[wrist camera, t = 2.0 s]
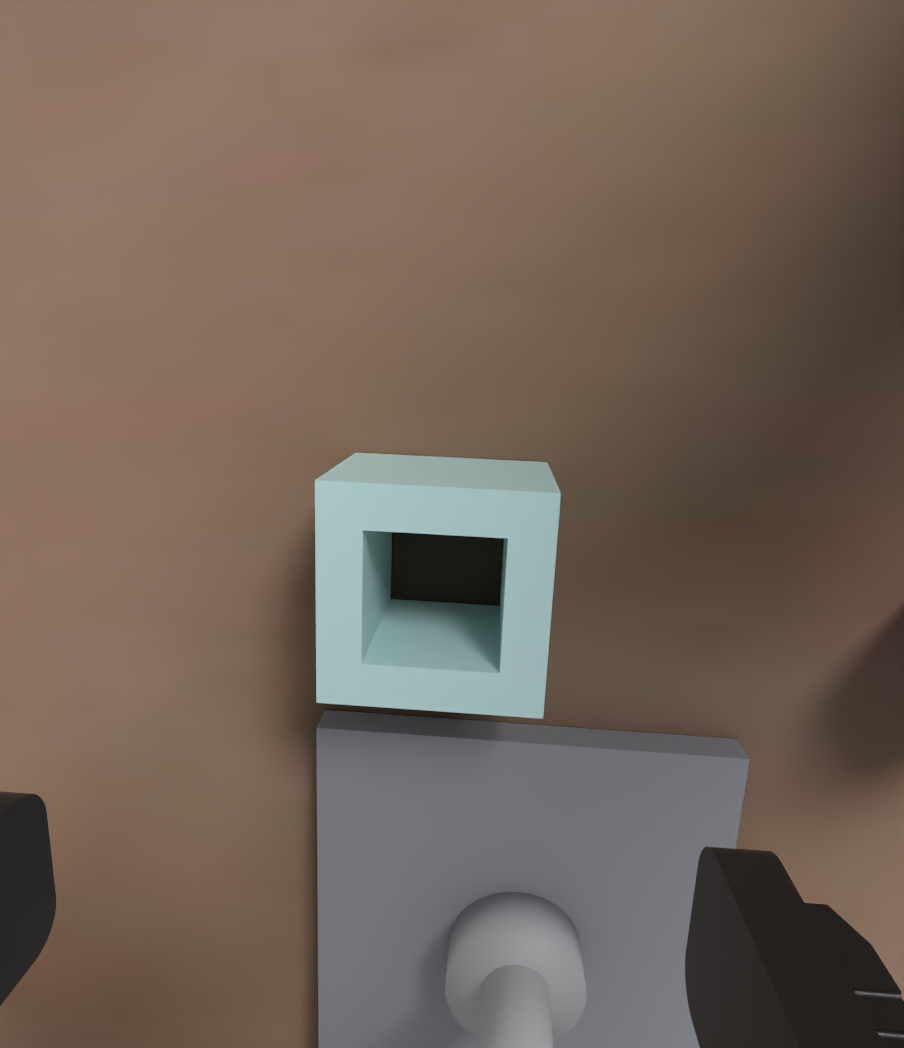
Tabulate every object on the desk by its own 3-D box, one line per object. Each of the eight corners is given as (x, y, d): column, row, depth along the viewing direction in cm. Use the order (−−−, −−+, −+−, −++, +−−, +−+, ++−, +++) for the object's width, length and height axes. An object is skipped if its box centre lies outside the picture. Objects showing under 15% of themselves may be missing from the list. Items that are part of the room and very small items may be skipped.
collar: (355, 452, 22) (314, 480, 17) (547, 462, 22) (560, 493, 17) (354, 630, 23) (316, 702, 18) (533, 642, 23) (543, 718, 18)
